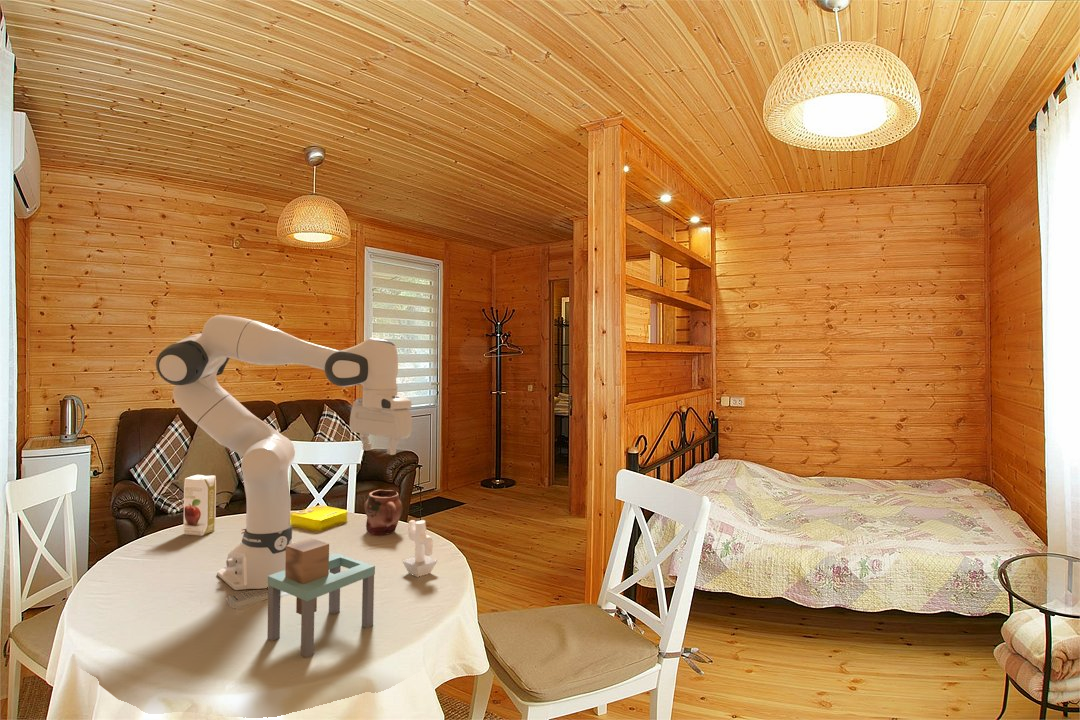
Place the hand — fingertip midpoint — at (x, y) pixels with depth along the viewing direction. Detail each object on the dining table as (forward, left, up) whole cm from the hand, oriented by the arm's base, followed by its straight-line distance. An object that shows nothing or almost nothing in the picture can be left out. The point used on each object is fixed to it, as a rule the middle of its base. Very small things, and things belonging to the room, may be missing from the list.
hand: (378, 452), depth 155 cm
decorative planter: (-35, +34, -37) cm, 62 cm away
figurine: (0, +16, -37) cm, 41 cm away
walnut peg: (+7, -26, -31) cm, 41 cm away
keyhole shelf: (+7, -22, -37) cm, 44 cm away
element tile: (-62, +28, -38) cm, 78 cm away
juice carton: (-84, -3, -37) cm, 92 cm away
